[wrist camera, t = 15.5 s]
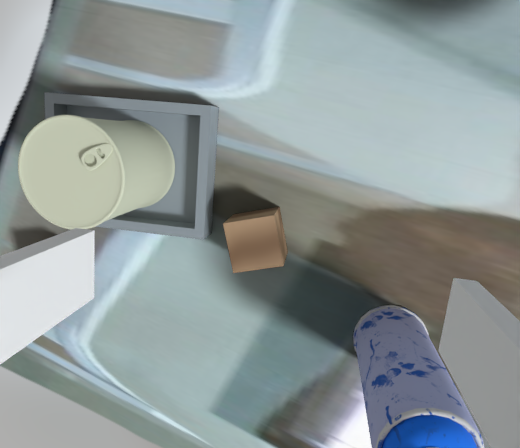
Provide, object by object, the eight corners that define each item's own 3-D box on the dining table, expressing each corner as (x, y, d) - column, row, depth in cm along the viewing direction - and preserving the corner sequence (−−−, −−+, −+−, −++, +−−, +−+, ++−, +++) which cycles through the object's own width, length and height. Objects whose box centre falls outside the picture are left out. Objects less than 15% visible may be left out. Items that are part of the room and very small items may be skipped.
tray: (64, 215, 47) (47, 220, 44) (62, 95, 44) (44, 92, 41) (211, 232, 45) (203, 239, 42) (218, 107, 42) (211, 105, 39)
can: (191, 180, 43) (144, 195, 32) (124, 222, 45) (56, 252, 34) (144, 102, 42) (77, 89, 31) (77, 150, 44) (-10, 153, 33)
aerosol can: (378, 384, 46) (420, 565, 27) (338, 328, 45) (351, 472, 26) (442, 350, 44) (537, 518, 25) (402, 291, 43) (466, 416, 24)
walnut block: (233, 214, 44) (222, 223, 40) (279, 206, 44) (274, 215, 39) (242, 258, 45) (233, 273, 40) (287, 251, 44) (283, 266, 40)
